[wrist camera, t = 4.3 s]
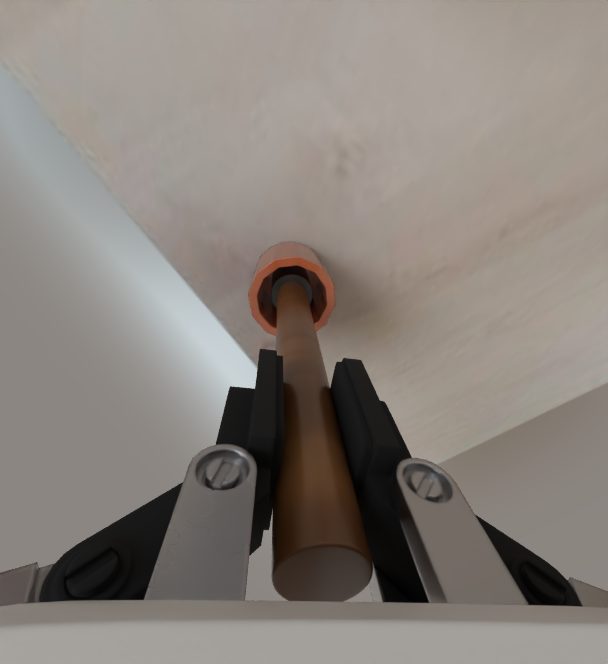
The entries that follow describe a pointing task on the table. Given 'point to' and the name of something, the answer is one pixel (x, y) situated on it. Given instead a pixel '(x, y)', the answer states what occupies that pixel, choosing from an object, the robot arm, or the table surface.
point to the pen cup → (286, 257)
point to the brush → (312, 466)
